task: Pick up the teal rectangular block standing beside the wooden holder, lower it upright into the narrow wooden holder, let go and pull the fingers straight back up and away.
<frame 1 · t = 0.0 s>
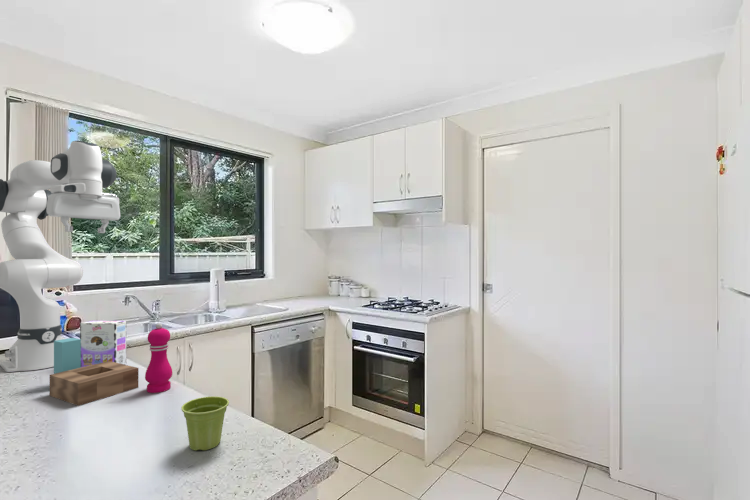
hand: (85, 232, 127), 48 cm above the counter, tool pointing down, fingers open, 8 cm apart
candy box: (103, 367, 140), on the counter
plant pot: (205, 445, 83), on the counter
pepper mill: (158, 390, 117), on the counter
teal rectangular block: (67, 385, 120), on the counter
wooden holder: (95, 391, 115), on the counter
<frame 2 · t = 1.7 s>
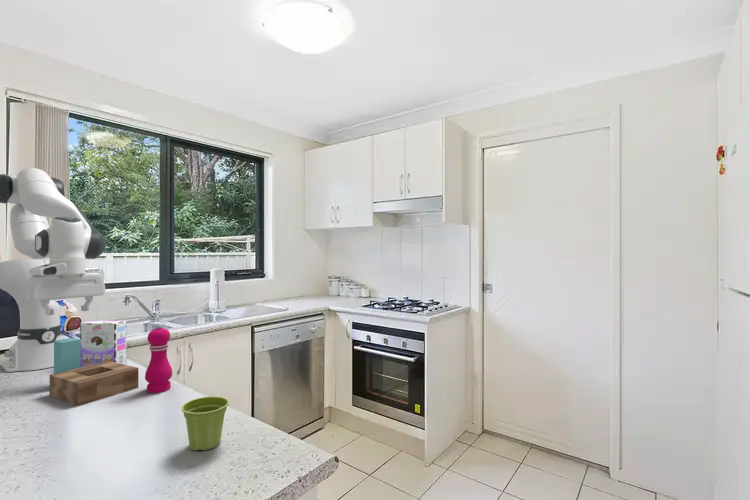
hand: (67, 312, 120), 22 cm above the counter, tool pointing down, fingers open, 8 cm apart
nothing on the counter moved.
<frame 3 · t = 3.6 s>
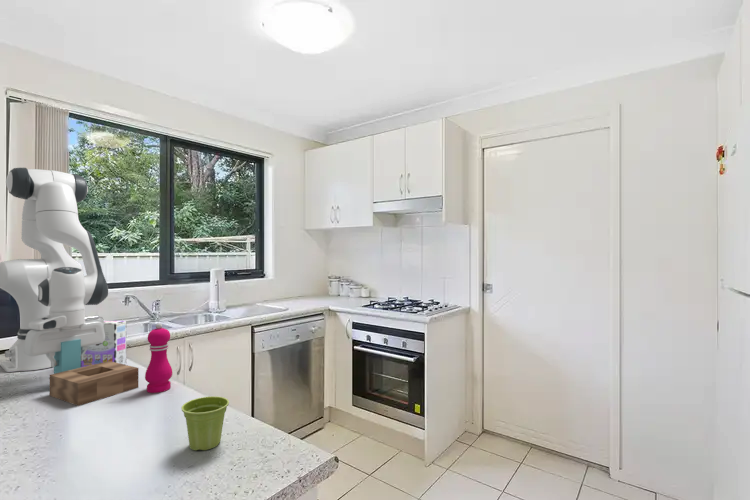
hand: (67, 363, 120), 7 cm above the counter, tool pointing down, fingers closed on teal rectangular block, 5 cm apart
teal rectangular block: (67, 384, 120), on the counter, touching gripper
everything else where it was.
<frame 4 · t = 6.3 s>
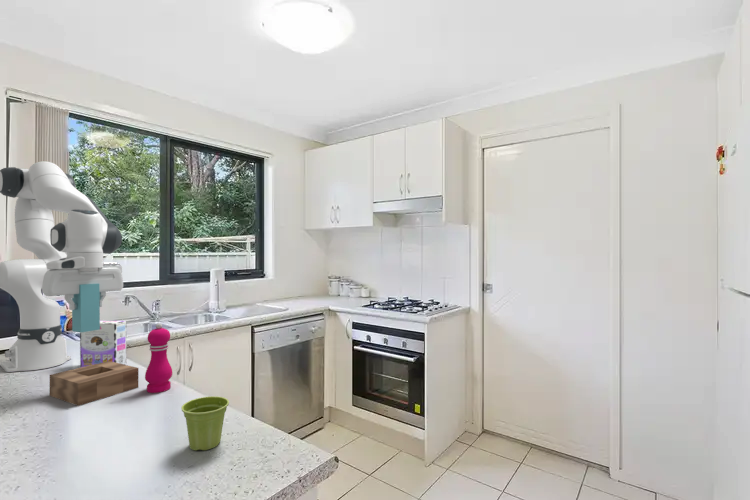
hand: (85, 308, 116), 24 cm above the counter, tool pointing down, fingers closed on teal rectangular block, 5 cm apart
teal rectangular block: (86, 330, 116), point 18 cm above the counter, touching gripper
everything else where it was.
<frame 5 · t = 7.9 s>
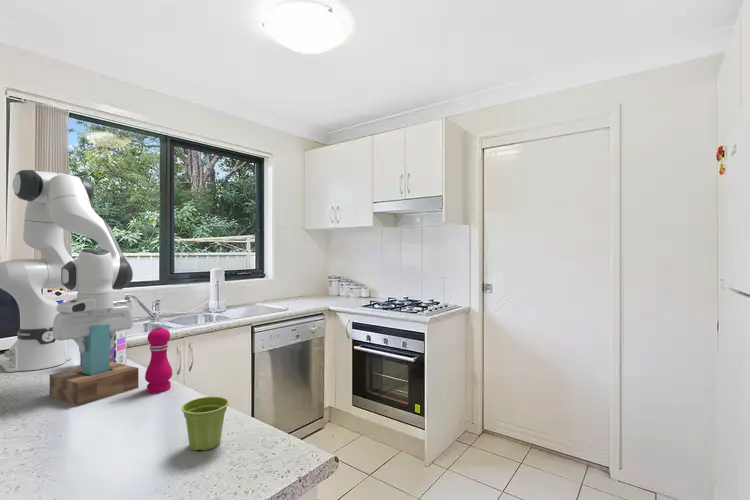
hand: (95, 349, 115), 12 cm above the counter, tool pointing down, fingers closed on teal rectangular block, 5 cm apart
teal rectangular block: (95, 371, 115), point 6 cm above the counter, touching gripper
everything else where it was.
when the fingers open (8 cm above the counter, at t = 9.2 s): teal rectangular block drops 1 cm, resting in wooden holder.
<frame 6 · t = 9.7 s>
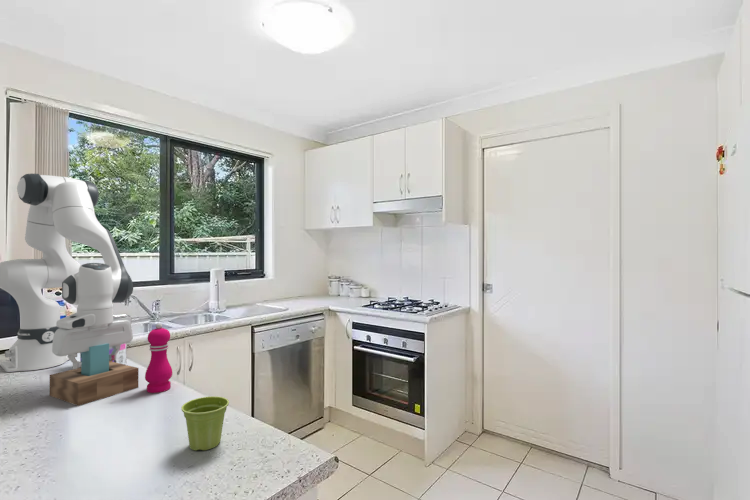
hand: (95, 364, 115), 8 cm above the counter, tool pointing down, fingers open, 8 cm apart
teal rectangular block: (95, 391, 115), resting in wooden holder
everything else where it was.
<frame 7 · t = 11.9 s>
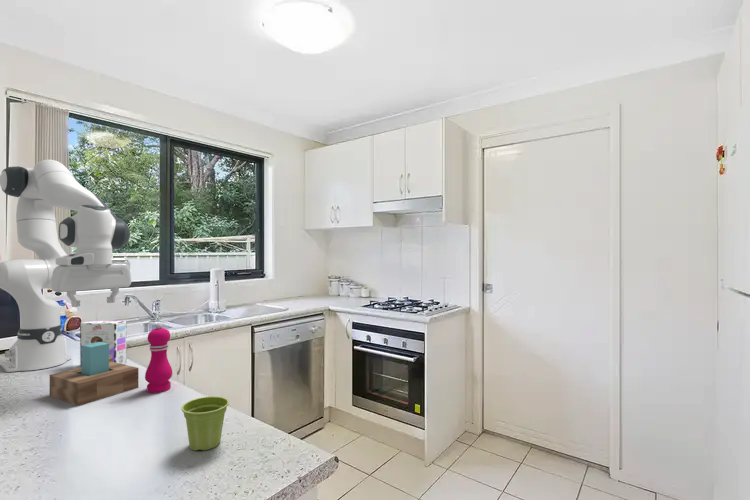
hand: (93, 304, 116), 26 cm above the counter, tool pointing down, fingers open, 8 cm apart
nothing on the counter moved.
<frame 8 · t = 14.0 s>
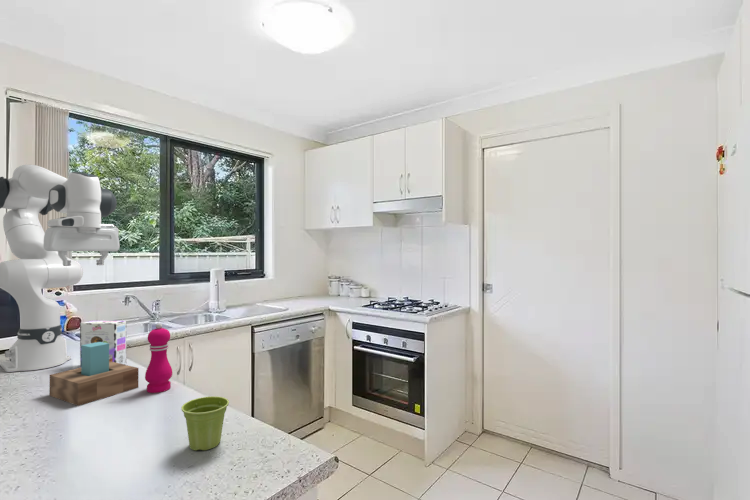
hand: (84, 265, 124), 37 cm above the counter, tool pointing down, fingers open, 8 cm apart
nothing on the counter moved.
at the end: teal rectangular block 0.0 cm off-centre on the wooden holder, point 0.0 cm above the wooden holder's base; teal rectangular block tilted 0°; the gripper is holding nothing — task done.
